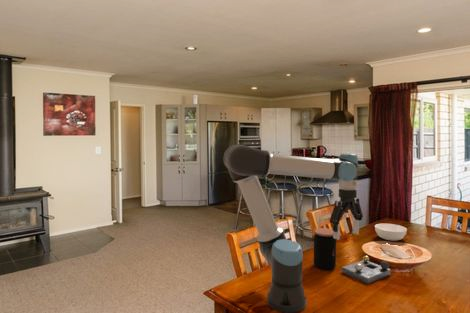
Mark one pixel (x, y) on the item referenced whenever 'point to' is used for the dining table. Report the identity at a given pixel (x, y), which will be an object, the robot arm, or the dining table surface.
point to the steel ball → (358, 267)
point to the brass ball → (366, 258)
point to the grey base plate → (366, 271)
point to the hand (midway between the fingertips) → (346, 236)
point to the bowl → (390, 231)
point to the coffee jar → (324, 249)
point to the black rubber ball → (384, 264)
